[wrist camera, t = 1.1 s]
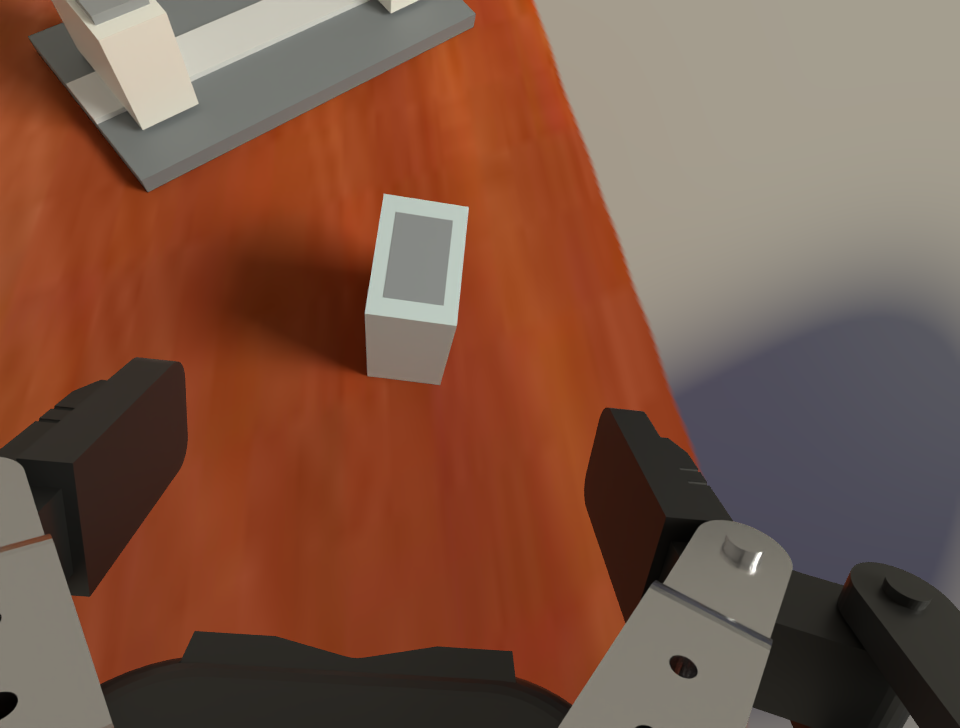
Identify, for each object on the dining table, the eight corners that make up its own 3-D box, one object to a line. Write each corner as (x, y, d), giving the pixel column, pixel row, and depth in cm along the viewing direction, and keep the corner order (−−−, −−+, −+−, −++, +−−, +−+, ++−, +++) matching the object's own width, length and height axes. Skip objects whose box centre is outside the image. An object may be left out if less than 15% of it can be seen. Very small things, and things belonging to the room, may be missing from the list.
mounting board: (147, 192, 41) (139, 176, 39) (36, 50, 43) (24, 31, 42) (473, 26, 50) (476, 9, 49) (366, -82, 53) (366, -102, 51)
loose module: (367, 376, 39) (364, 313, 30) (382, 276, 41) (384, 193, 33) (439, 384, 39) (456, 325, 31) (450, 286, 42) (468, 207, 34)
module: (142, 130, 41) (93, 31, 34) (77, 48, 42) (17, -63, 35) (198, 103, 42) (162, 3, 35) (133, 26, 43) (86, -86, 36)
